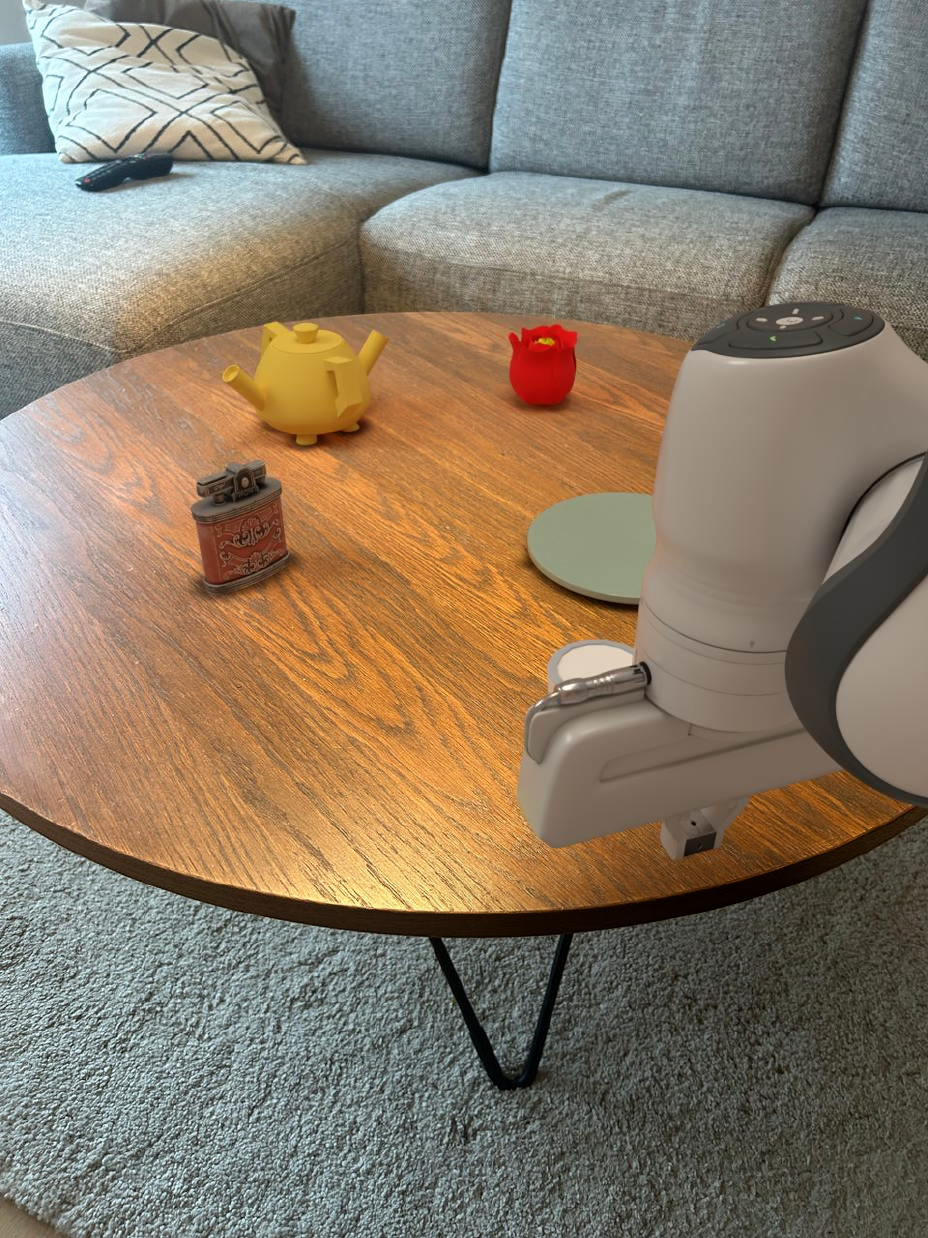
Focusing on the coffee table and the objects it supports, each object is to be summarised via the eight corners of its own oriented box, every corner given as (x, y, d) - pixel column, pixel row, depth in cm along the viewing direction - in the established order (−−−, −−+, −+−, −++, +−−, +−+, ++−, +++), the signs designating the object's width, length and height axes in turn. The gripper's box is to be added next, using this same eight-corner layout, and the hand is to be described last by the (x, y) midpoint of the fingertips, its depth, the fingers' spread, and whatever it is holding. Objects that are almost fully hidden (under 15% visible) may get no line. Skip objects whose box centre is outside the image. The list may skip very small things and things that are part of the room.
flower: (569, 418, 112) (574, 348, 108) (501, 412, 113) (502, 342, 109) (577, 391, 118) (581, 324, 114) (512, 386, 120) (514, 319, 115)
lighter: (275, 549, 89) (262, 445, 83) (298, 563, 87) (286, 458, 81) (196, 584, 84) (176, 476, 78) (218, 600, 82) (200, 490, 76)
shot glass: (661, 741, 68) (673, 659, 64) (617, 803, 63) (628, 718, 59) (571, 706, 71) (577, 625, 67) (523, 762, 66) (527, 679, 62)
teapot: (276, 480, 99) (263, 372, 93) (194, 423, 111) (177, 323, 105) (436, 428, 110) (434, 327, 103) (346, 380, 121) (339, 287, 115)
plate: (776, 589, 84) (779, 574, 83) (579, 631, 79) (580, 615, 78) (669, 493, 97) (671, 479, 97) (496, 523, 93) (496, 509, 92)
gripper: (555, 736, 43) (539, 942, 51) (943, 642, 48) (875, 841, 56) (501, 652, 48) (495, 852, 56) (860, 576, 53) (808, 767, 61)
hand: (689, 846), depth 56 cm, fingers closed
